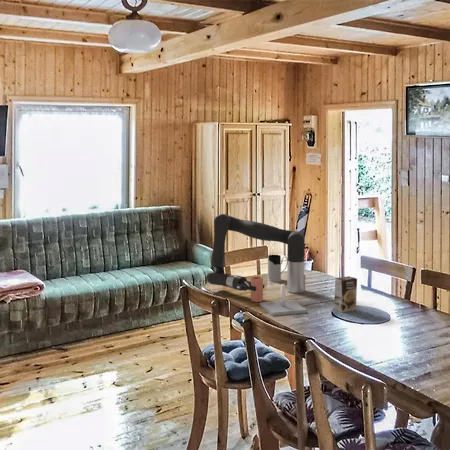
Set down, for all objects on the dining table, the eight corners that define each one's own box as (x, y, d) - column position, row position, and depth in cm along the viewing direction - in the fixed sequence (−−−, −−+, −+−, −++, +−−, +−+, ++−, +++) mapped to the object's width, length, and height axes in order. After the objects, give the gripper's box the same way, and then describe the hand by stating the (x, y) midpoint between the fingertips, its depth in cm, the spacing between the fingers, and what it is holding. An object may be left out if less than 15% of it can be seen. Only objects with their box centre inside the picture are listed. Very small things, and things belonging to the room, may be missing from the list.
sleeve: (260, 298, 290) (260, 276, 288) (264, 301, 284) (264, 278, 282) (249, 299, 288) (249, 277, 287) (253, 302, 283) (253, 279, 281)
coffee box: (342, 313, 265) (342, 280, 263) (333, 309, 271) (334, 277, 268) (356, 310, 269) (357, 278, 267) (348, 307, 275) (348, 275, 273)
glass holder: (264, 279, 333) (264, 255, 331) (283, 276, 340) (283, 253, 338) (272, 282, 325) (272, 257, 323) (291, 279, 332) (292, 255, 330)
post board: (292, 302, 283) (293, 278, 281) (306, 312, 266) (307, 287, 264) (259, 305, 278) (259, 281, 277) (271, 315, 261) (272, 290, 259)
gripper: (227, 278, 290) (250, 283, 278) (245, 273, 300) (268, 278, 288) (227, 291, 291) (250, 297, 279) (245, 286, 301) (268, 292, 289)
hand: (259, 287), depth 284 cm, fingers closed on sleeve, 6 cm apart
